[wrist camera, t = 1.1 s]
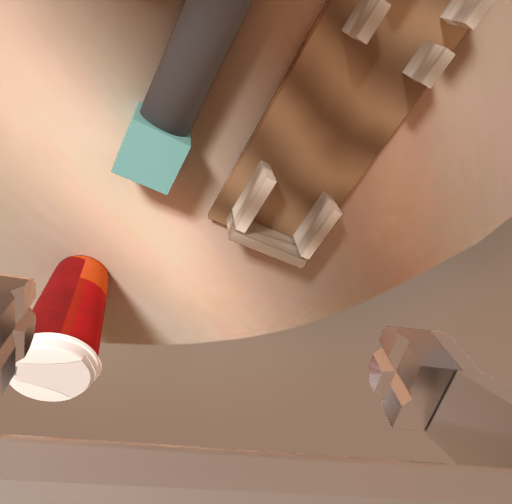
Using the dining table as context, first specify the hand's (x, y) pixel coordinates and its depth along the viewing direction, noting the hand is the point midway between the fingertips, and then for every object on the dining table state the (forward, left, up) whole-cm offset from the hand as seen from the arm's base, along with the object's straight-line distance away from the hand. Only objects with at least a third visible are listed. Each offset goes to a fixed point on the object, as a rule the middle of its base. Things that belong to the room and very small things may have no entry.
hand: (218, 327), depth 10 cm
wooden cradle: (-2, +14, -32) cm, 35 cm away
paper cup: (+26, -1, -33) cm, 42 cm away
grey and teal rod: (-3, 0, -32) cm, 33 cm away
